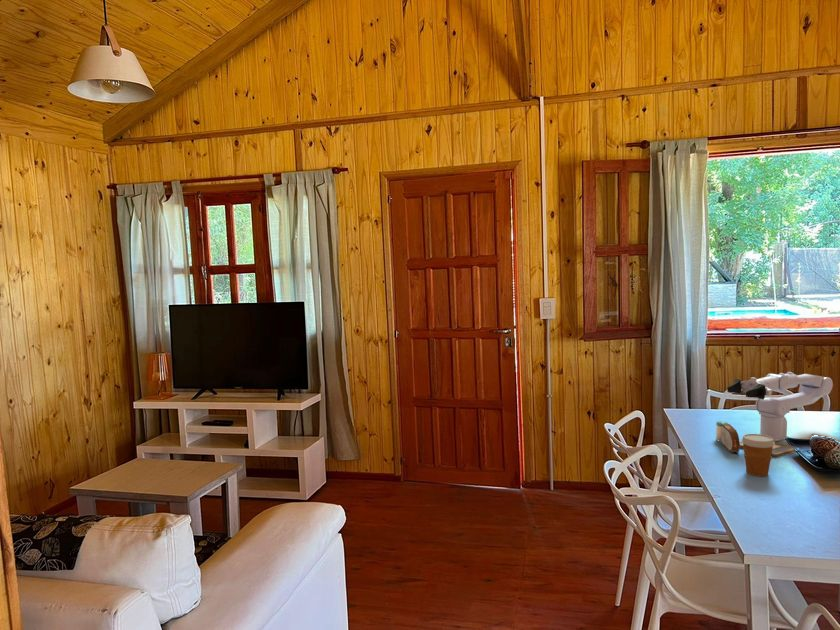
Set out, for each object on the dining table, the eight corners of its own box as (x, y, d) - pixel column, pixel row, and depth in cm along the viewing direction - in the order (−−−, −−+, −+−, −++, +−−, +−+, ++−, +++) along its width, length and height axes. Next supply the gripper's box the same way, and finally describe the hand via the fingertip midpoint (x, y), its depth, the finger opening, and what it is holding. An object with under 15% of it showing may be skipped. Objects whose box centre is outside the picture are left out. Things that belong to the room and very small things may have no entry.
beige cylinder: (720, 438, 238) (720, 420, 238) (729, 440, 235) (730, 423, 234) (713, 439, 236) (714, 422, 236) (723, 442, 233) (723, 424, 232)
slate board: (756, 440, 234) (757, 437, 234) (798, 451, 220) (798, 447, 220) (733, 446, 228) (733, 443, 228) (775, 457, 214) (775, 454, 214)
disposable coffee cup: (734, 470, 202) (734, 435, 201) (754, 466, 206) (755, 431, 205) (760, 480, 194) (761, 443, 193) (780, 475, 197) (781, 439, 196)
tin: (740, 455, 218) (740, 432, 217) (730, 455, 218) (731, 432, 218) (728, 442, 232) (728, 421, 232) (719, 442, 233) (719, 421, 232)
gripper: (744, 372, 238) (720, 377, 232) (779, 379, 225) (755, 385, 219) (744, 389, 239) (720, 395, 233) (779, 397, 226) (755, 404, 220)
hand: (737, 392), depth 226 cm, fingers open, 7 cm apart
